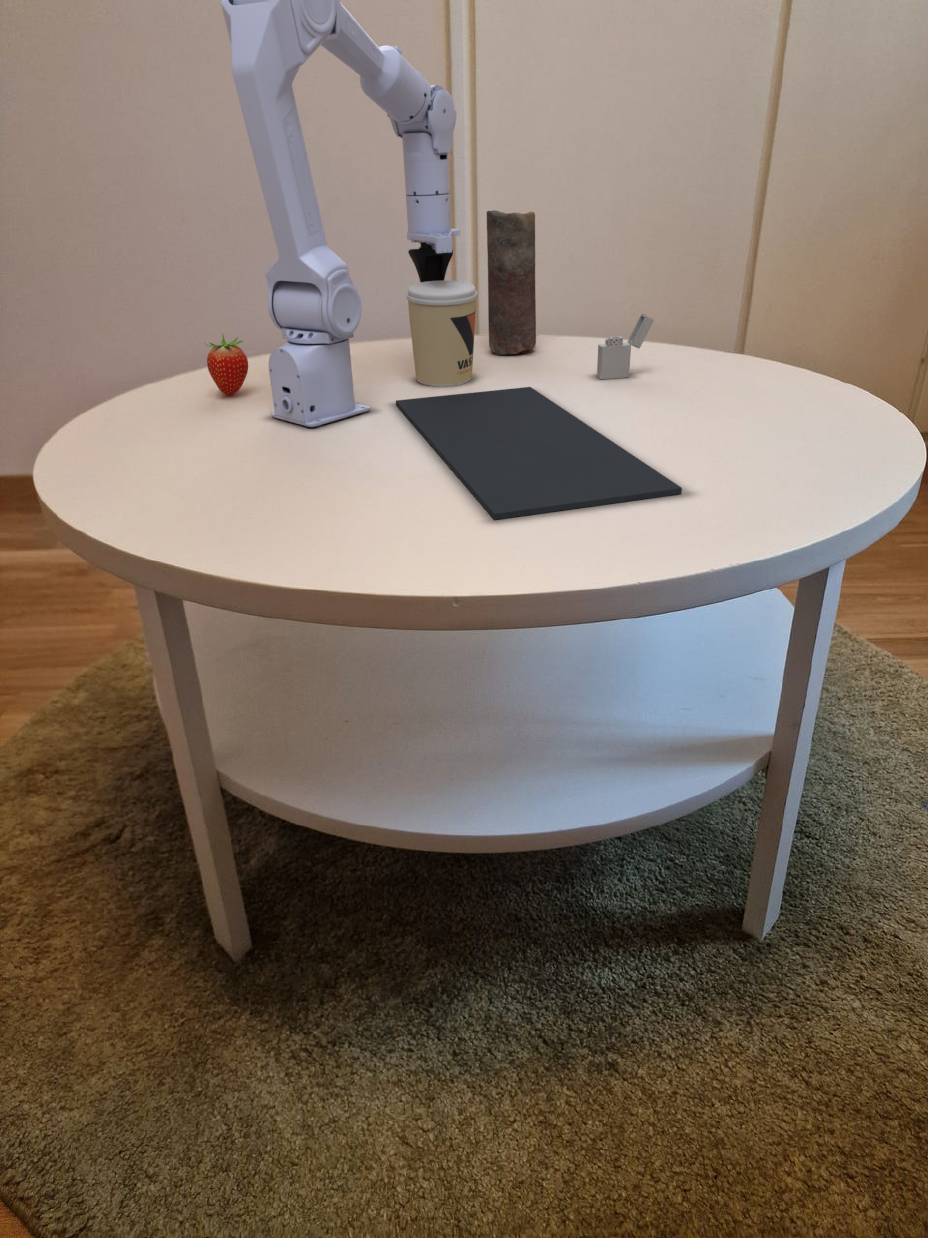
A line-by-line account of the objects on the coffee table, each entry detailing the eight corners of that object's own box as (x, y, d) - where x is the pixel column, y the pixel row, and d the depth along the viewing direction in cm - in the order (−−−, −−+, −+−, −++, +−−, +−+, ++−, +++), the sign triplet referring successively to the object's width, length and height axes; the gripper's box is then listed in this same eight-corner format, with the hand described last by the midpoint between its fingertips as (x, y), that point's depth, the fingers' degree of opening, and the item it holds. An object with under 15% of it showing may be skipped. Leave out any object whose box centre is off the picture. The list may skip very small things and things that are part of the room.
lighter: (600, 379, 116) (603, 317, 112) (596, 376, 117) (599, 315, 113) (650, 375, 117) (654, 314, 113) (645, 372, 118) (650, 312, 114)
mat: (681, 493, 78) (682, 487, 77) (494, 520, 74) (494, 513, 73) (530, 391, 111) (530, 386, 111) (395, 405, 107) (395, 400, 107)
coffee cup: (469, 390, 113) (468, 296, 107) (402, 386, 115) (397, 293, 109) (483, 370, 121) (483, 280, 114) (420, 366, 123) (417, 278, 116)
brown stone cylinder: (484, 347, 136) (482, 208, 126) (529, 344, 137) (530, 206, 127) (494, 357, 130) (492, 212, 120) (540, 354, 131) (543, 209, 121)
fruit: (219, 390, 116) (209, 329, 112) (256, 390, 116) (247, 329, 112) (207, 401, 111) (196, 338, 107) (246, 400, 111) (236, 337, 107)
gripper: (473, 195, 106) (476, 310, 112) (442, 189, 118) (447, 293, 124) (418, 198, 104) (425, 315, 111) (392, 192, 116) (400, 297, 123)
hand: (433, 303), depth 117 cm, fingers closed, pressing on coffee cup
